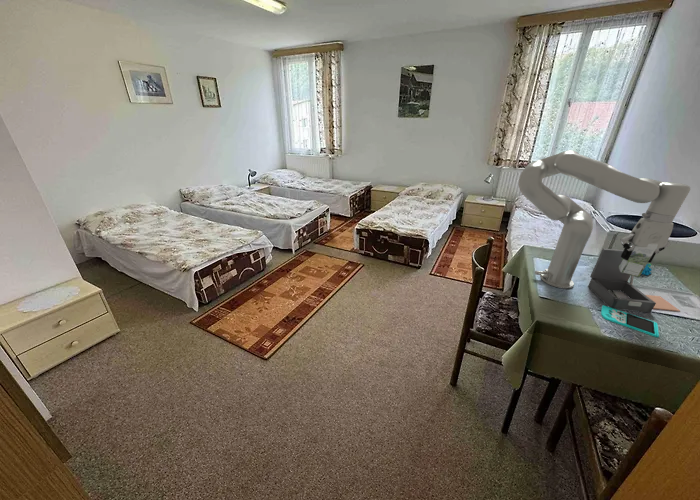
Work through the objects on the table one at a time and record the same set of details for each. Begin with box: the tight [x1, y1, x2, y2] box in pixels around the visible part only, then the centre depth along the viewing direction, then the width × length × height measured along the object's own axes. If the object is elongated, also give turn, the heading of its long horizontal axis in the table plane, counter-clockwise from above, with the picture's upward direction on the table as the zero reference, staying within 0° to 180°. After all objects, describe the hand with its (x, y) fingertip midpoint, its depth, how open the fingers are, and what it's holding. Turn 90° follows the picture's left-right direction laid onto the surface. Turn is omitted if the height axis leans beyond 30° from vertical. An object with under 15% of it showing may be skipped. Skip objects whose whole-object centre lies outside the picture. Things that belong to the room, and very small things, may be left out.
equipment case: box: [587, 248, 656, 314], centre depth 116 cm, size 14×18×18 cm
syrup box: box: [619, 243, 658, 278], centre depth 111 cm, size 6×6×14 cm
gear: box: [641, 262, 653, 276], centre depth 141 cm, size 11×6×10 cm
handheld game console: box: [600, 304, 660, 338], centre depth 107 cm, size 10×16×1 cm, turn 48°
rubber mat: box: [645, 294, 681, 313], centre depth 117 cm, size 10×10×1 cm
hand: (635, 259), depth 112 cm, fingers closed on syrup box, 7 cm apart
